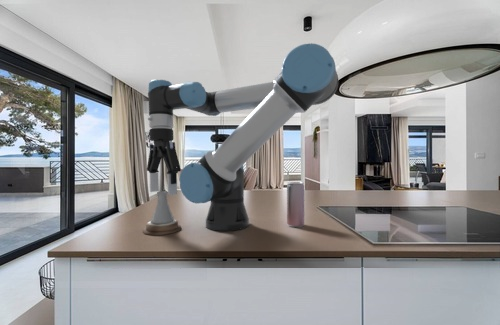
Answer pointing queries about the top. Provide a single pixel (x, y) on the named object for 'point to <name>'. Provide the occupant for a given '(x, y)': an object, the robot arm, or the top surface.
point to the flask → (162, 210)
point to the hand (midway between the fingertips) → (163, 193)
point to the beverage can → (295, 204)
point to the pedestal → (161, 228)
